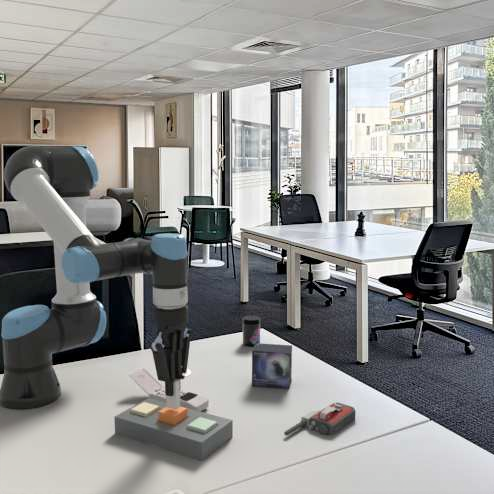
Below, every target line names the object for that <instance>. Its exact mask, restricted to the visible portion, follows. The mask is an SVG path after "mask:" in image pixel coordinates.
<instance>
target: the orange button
mask: <svg viewBox="0 0 494 494" xmlns="http://www.w3.org/2000/svg"><path fill="white" fill-rule="evenodd" d="M158 418H159V421H161V422H165V423H168V424H172V425H177V424H179V423H180V422H182V421H183V420H185V419H186V418H187V408H184V407H180V408H179V409H177V410H174V409H170V408H167V407H165V408H164V409H162V410H160V411H158Z"/></svg>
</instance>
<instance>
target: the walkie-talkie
mask: <svg viewBox="0 0 494 494" xmlns="http://www.w3.org/2000/svg"><path fill="white" fill-rule="evenodd" d="M353 420H354V421H356V409H355V407H353V406H351V405H349V404H348V405H347V404H344V403H341V402H333V403H331V404H329V405H328V406H326V407H325V408H323V409H321V410H313V411H310V412H308V413H307V414H305V415H302V416H301V420H300V422H298V423H296V424H295V425H293V426H292V427H290V428H288V429H286V430H285V431H284V432H283V433H284V435H285V436H289V435H291V434H293V433H294V432H296V431H297V430H299V429H300V428H302V427H308V429H309V430H314V431H317V432H320V433H321V434H322V435H329V436H334V435H335V434H337V433H338V432H340V431H341V430H342V429H344V428H346V427H347V426H348V425H349V423H350V424H351V423H353V422H354V421H353Z"/></svg>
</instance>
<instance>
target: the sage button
mask: <svg viewBox="0 0 494 494" xmlns="http://www.w3.org/2000/svg"><path fill="white" fill-rule="evenodd" d="M216 426H217V422H216V421H213V420H209V419H205V418H202V417H199V418H198V419H196V420H195V421H193V422H192V423H190V424H189V425H188V429H189V430H193V431H196V432H200V433H203V434H207V433H208V432H209V431H211V430H212V429H214V428H215V427H216Z"/></svg>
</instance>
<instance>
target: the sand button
mask: <svg viewBox="0 0 494 494" xmlns="http://www.w3.org/2000/svg"><path fill="white" fill-rule="evenodd" d="M159 410H160V408H159V406H157V405H153V404H150V403H146V402H143V403H141V404H140V405H138V406H136V407H134V408H132V409H131V413H133V414H137V415H140V416H144V417H148V416H150V415H152V414H154V413H155V412H157V411H159Z"/></svg>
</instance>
